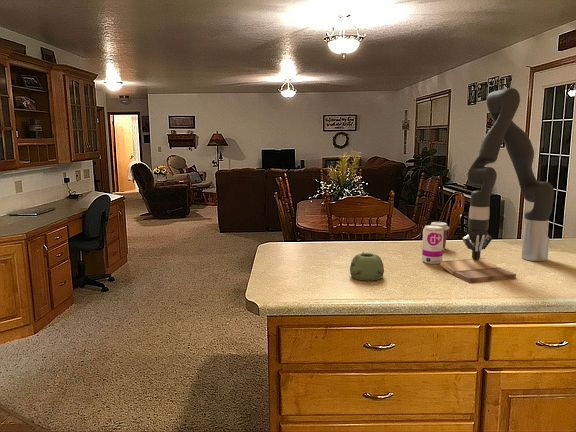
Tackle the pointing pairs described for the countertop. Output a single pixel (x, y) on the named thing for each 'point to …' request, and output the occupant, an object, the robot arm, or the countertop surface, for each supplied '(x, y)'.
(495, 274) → the walnut board
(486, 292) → the countertop surface
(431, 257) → the supplement can
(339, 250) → the countertop surface
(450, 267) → the oak plank
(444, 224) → the coffee cup
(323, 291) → the countertop surface
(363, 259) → the green rounded vase
